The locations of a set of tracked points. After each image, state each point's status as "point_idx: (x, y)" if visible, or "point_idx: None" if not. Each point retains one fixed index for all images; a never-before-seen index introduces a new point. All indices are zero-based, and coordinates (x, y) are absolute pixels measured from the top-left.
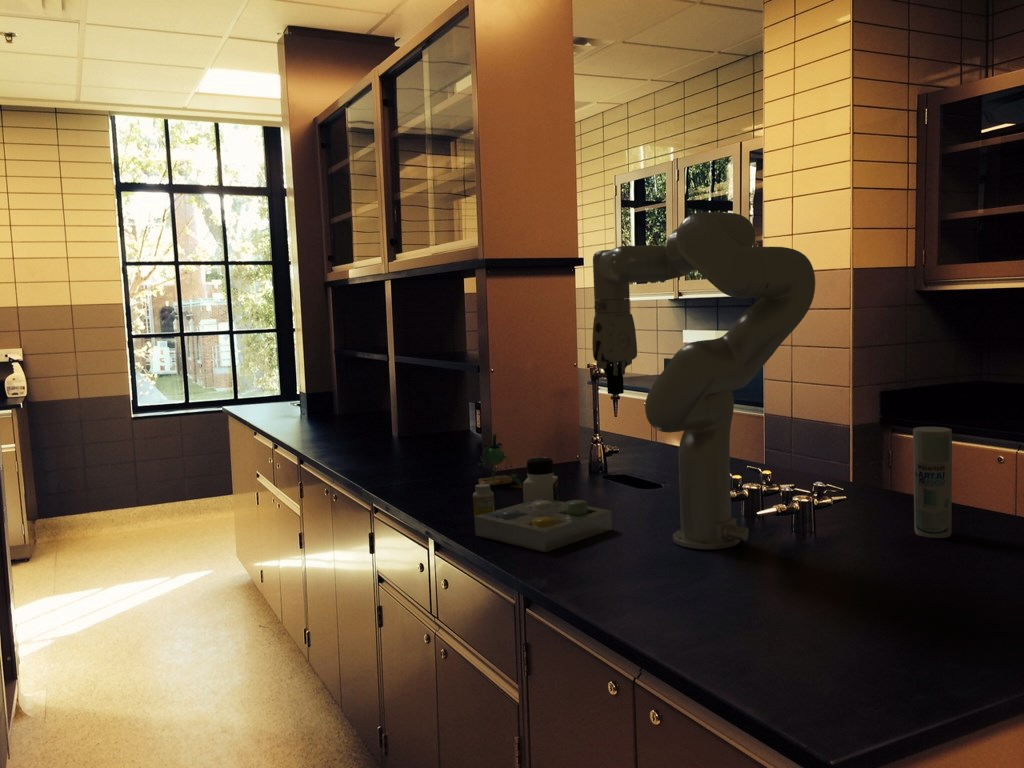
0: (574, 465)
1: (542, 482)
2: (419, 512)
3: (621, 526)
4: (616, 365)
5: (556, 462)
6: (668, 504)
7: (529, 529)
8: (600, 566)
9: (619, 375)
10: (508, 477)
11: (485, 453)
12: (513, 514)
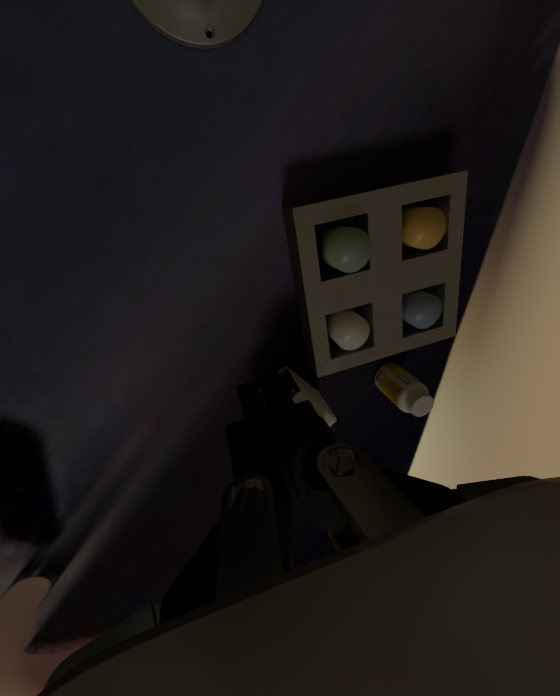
0: (57, 621)
1: (314, 403)
2: (402, 463)
3: (254, 212)
4: (367, 522)
5: (75, 645)
6: (62, 289)
7: (464, 208)
8: (449, 17)
9: (280, 470)
10: None
11: None
12: (430, 295)
